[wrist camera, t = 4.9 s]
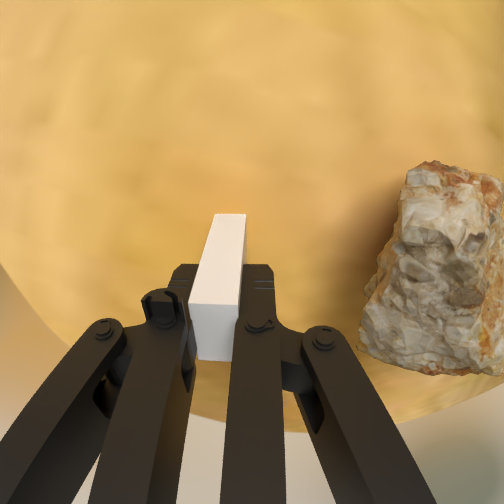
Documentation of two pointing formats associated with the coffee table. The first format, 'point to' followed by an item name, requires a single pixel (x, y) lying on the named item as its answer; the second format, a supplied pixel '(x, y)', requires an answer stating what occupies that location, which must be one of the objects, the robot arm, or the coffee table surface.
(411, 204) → the rock
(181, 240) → the coffee table surface
